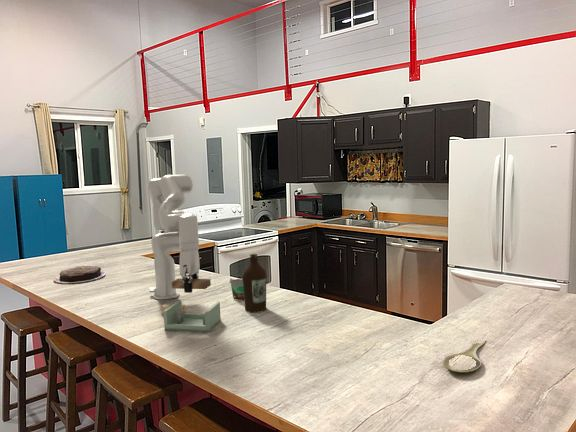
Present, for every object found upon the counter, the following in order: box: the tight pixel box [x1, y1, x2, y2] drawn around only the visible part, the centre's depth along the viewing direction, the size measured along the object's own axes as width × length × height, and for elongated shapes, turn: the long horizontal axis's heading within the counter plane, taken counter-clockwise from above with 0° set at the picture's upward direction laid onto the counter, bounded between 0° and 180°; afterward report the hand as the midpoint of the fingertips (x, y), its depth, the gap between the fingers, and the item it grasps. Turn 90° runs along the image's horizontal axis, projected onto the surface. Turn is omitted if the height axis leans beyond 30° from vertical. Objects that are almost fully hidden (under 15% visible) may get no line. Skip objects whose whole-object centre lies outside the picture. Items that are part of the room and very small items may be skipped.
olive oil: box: [241, 253, 267, 313], centre depth 209 cm, size 11×11×25 cm
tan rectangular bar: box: [161, 303, 187, 316], centre depth 206 cm, size 10×3×4 cm, turn 79°
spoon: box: [442, 342, 486, 373], centre depth 155 cm, size 35×11×2 cm, turn 144°
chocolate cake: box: [53, 265, 106, 285], centre depth 277 cm, size 28×28×7 cm
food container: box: [229, 277, 245, 301], centre depth 226 cm, size 12×6×10 cm, turn 105°
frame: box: [163, 300, 221, 334], centre depth 191 cm, size 18×14×8 cm
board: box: [172, 278, 212, 290], centre depth 189 cm, size 14×6×3 cm, turn 79°
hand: (191, 289), depth 189 cm, fingers closed on board, 6 cm apart
